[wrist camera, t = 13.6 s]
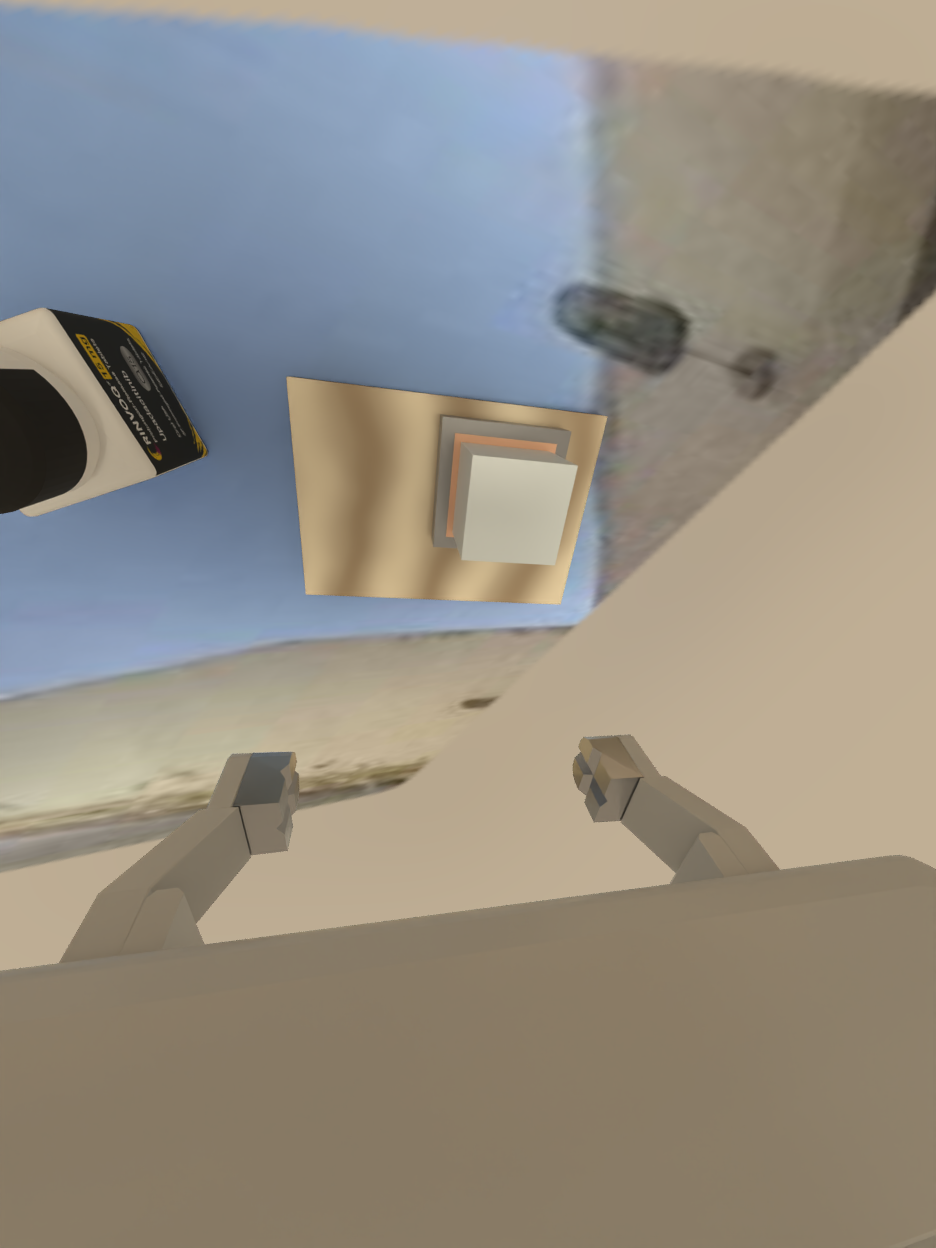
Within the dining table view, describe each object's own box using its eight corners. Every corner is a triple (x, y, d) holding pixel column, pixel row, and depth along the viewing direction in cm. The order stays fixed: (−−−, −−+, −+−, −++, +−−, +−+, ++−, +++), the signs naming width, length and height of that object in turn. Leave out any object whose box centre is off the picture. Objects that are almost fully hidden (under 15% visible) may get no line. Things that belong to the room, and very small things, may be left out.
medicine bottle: (212, 454, 27) (94, 502, 17) (109, 488, 27) (-70, 555, 17) (136, 323, 23) (-76, 279, 13) (17, 363, 23) (-285, 352, 13)
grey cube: (452, 532, 28) (461, 559, 24) (461, 441, 25) (472, 454, 21) (532, 537, 29) (554, 565, 24) (549, 451, 26) (578, 465, 22)
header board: (309, 585, 32) (290, 629, 27) (292, 376, 25) (260, 376, 20) (554, 596, 36) (583, 637, 30) (598, 414, 29) (646, 423, 23)
